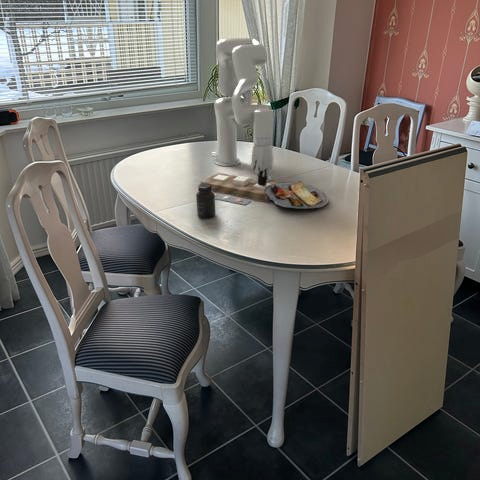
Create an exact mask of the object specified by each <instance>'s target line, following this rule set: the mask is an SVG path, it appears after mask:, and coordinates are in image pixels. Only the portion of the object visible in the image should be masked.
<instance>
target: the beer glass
mask: <svg viewBox="0 0 480 480" xmlns="http://www.w3.org/2000/svg"><path fill="white" fill-rule="evenodd" d="M274 149H275V148H274V145H272V164H271V166H270V167H269V168H268V172H267V182H272V181H273V172H272V170H273V165H274V160H275V150H274Z"/></svg>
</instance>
